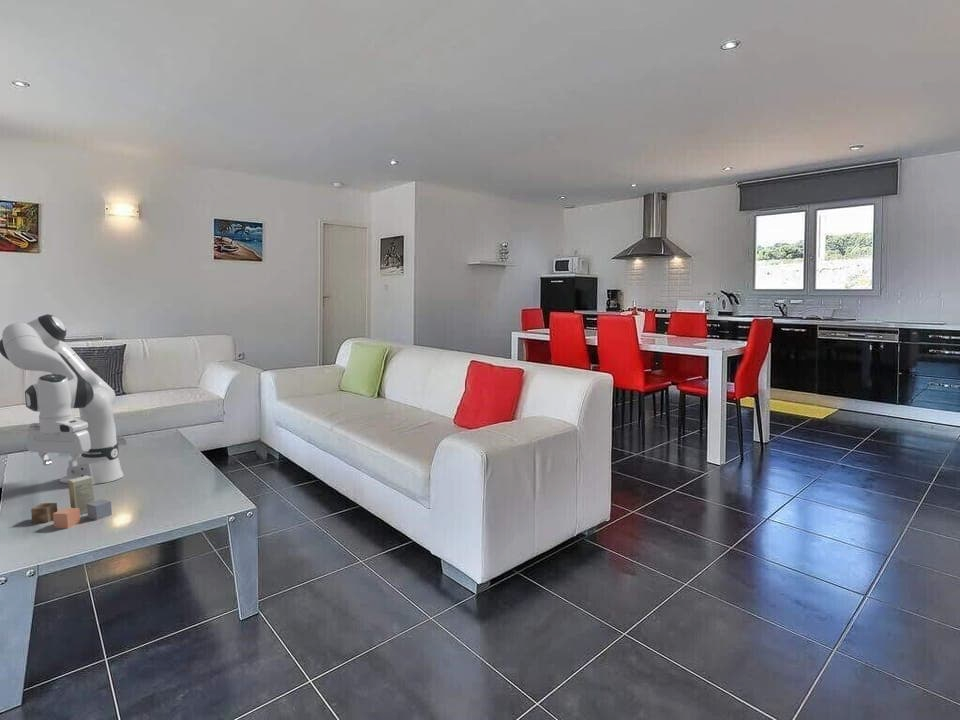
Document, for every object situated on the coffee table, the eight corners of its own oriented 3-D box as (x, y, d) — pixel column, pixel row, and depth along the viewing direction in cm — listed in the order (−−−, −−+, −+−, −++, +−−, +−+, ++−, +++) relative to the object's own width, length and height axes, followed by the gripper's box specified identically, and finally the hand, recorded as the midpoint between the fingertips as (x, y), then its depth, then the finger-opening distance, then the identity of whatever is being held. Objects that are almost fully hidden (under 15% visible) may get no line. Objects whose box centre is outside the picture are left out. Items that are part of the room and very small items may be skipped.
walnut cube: (32, 523, 186) (31, 508, 186) (42, 517, 191) (41, 503, 191) (48, 522, 187) (47, 508, 186) (57, 516, 192) (56, 502, 191)
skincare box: (90, 507, 200) (88, 474, 199) (96, 510, 198) (93, 477, 196) (70, 513, 195) (67, 479, 193) (75, 515, 192) (72, 482, 191)
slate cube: (87, 517, 191) (86, 503, 190) (102, 512, 196) (101, 499, 195) (97, 520, 189) (95, 506, 188) (111, 515, 194) (110, 501, 193)
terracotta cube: (54, 527, 183) (52, 513, 182) (66, 521, 188) (65, 507, 187) (68, 528, 182) (66, 514, 182) (80, 522, 187) (79, 508, 187)
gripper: (19, 425, 179) (23, 466, 180) (76, 427, 176) (80, 469, 178) (37, 421, 185) (40, 461, 187) (92, 423, 183) (95, 463, 184)
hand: (60, 465), depth 182 cm, fingers open, 8 cm apart
